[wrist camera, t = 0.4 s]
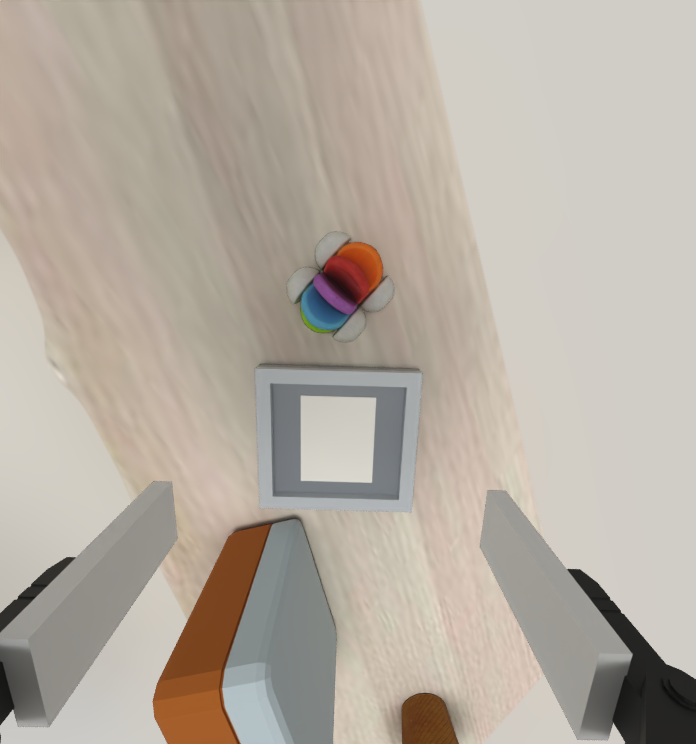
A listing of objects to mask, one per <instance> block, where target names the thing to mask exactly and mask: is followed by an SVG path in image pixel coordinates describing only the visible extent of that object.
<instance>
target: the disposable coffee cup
mask: <svg viewBox="0 0 696 744" xmlns="http://www.w3.org/2000/svg"><path fill="white" fill-rule="evenodd" d="M402 744H459V743H458V740H457V737H456V734H455V732H454V729H453V726H452V723H451V720H450V717H449V714H448V711H447V708H446V705H445V703H444V701H443V700H442V699H441V698H439V697H438V696H435V695H432V694H418V695H415V696H412V697H410V698H409V699H408V700H407V701H405V703H404V704H403V706H402Z"/></svg>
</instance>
